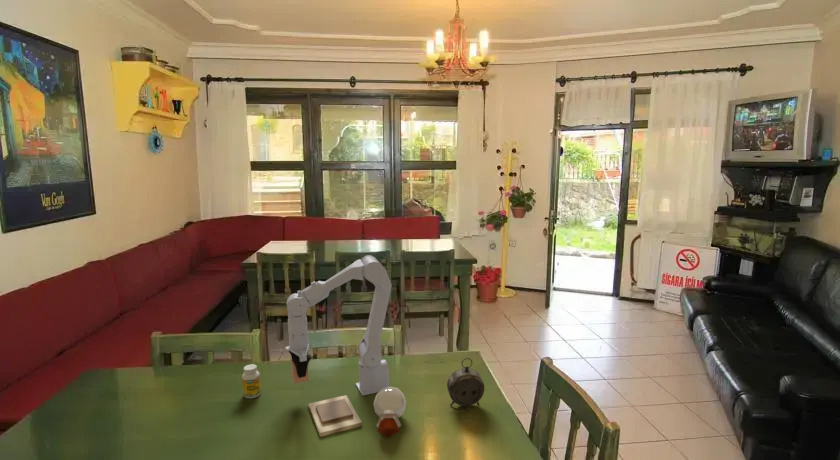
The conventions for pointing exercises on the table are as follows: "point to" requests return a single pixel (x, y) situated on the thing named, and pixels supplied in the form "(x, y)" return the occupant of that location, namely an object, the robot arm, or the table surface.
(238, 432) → the table surface
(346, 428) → the base board
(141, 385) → the table surface
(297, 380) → the block
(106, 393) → the table surface
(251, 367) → the supplement bottle
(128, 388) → the table surface
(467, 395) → the alarm clock
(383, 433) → the potion bottle
